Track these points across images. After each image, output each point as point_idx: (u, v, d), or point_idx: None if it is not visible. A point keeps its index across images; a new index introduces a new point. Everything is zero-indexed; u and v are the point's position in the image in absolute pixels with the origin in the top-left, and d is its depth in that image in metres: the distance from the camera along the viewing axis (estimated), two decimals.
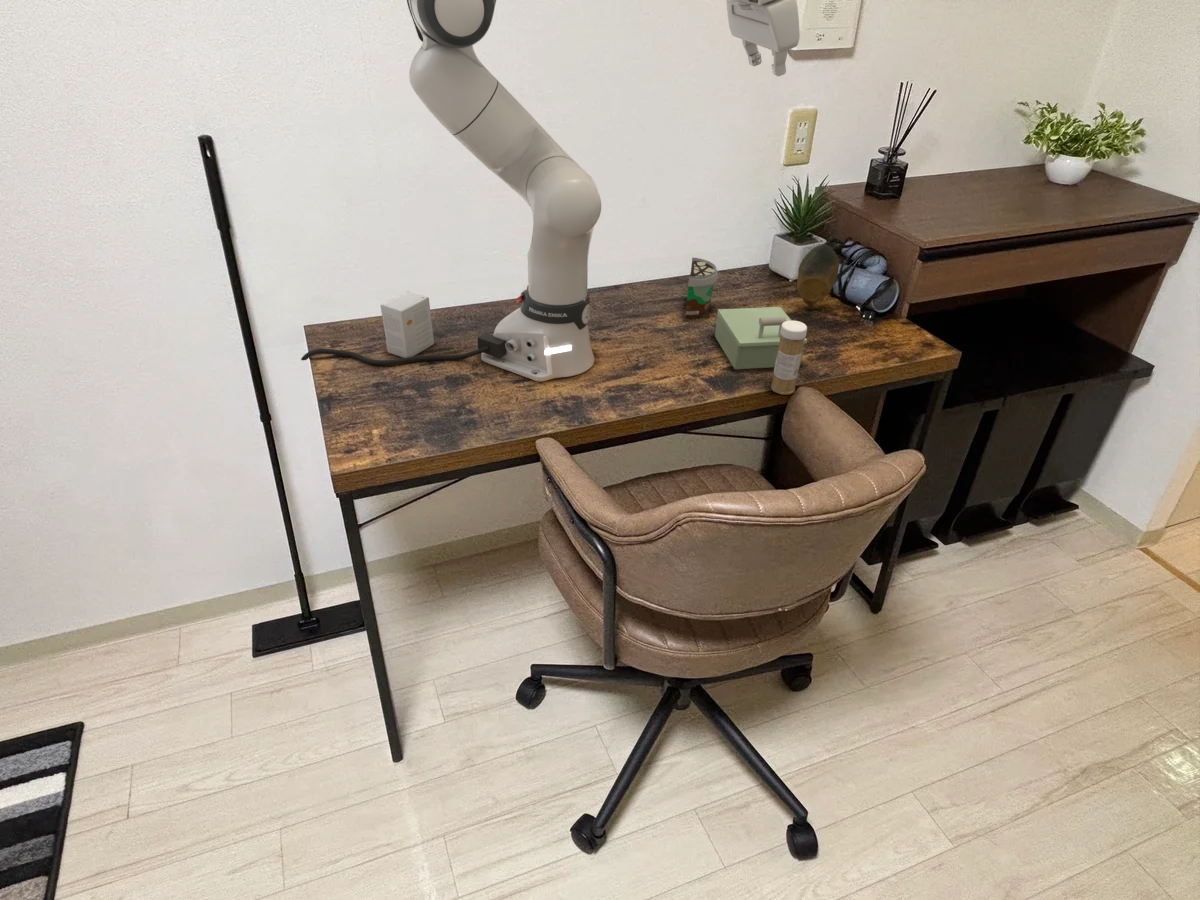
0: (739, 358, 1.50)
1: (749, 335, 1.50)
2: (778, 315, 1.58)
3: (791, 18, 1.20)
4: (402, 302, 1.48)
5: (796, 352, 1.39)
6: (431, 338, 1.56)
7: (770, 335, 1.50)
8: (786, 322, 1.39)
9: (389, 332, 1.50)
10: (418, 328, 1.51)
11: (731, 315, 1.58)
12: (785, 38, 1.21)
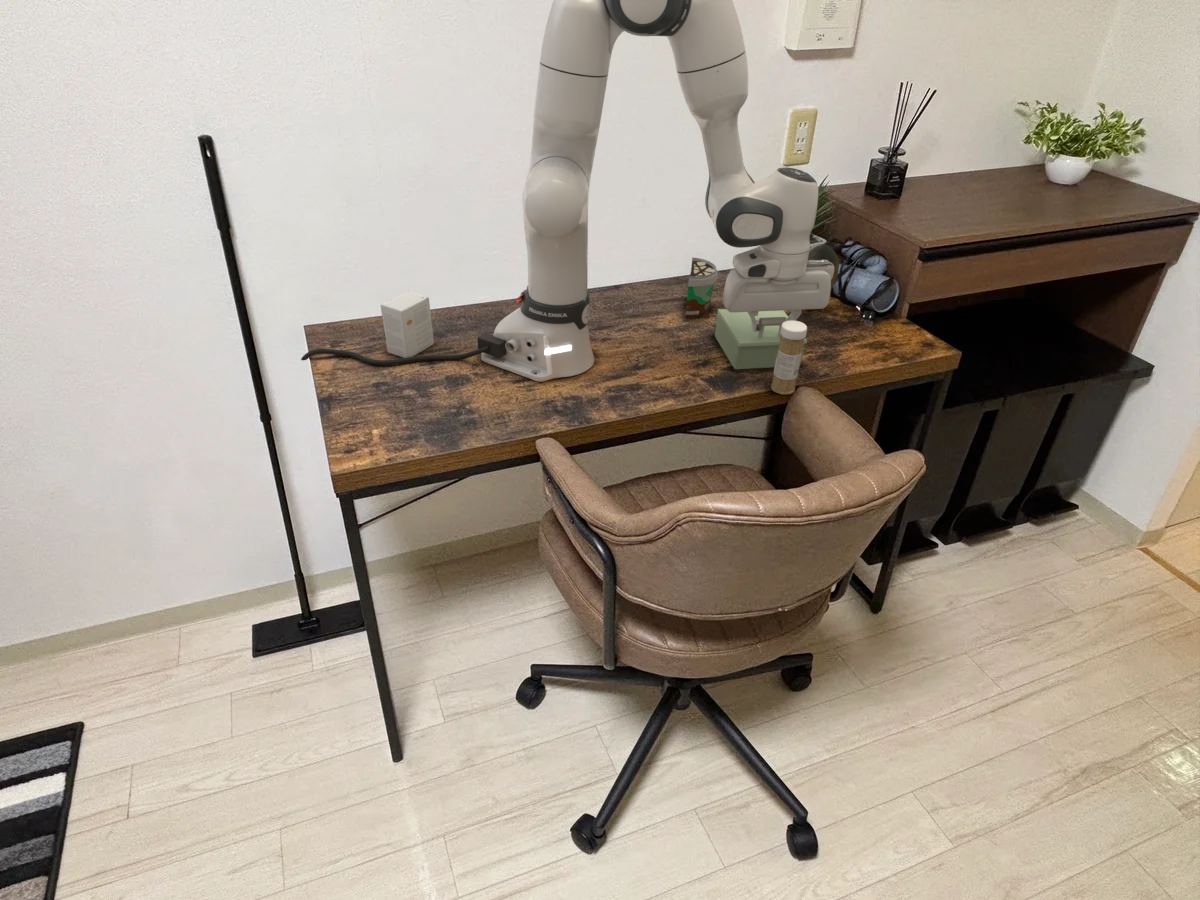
0: (739, 358, 1.50)
1: (749, 335, 1.50)
2: (778, 315, 1.58)
3: (729, 289, 1.42)
4: (402, 302, 1.48)
5: (796, 352, 1.39)
6: (431, 338, 1.56)
7: (770, 335, 1.51)
8: (786, 322, 1.39)
9: (389, 332, 1.50)
10: (418, 328, 1.51)
11: (731, 315, 1.58)
12: (724, 298, 1.45)
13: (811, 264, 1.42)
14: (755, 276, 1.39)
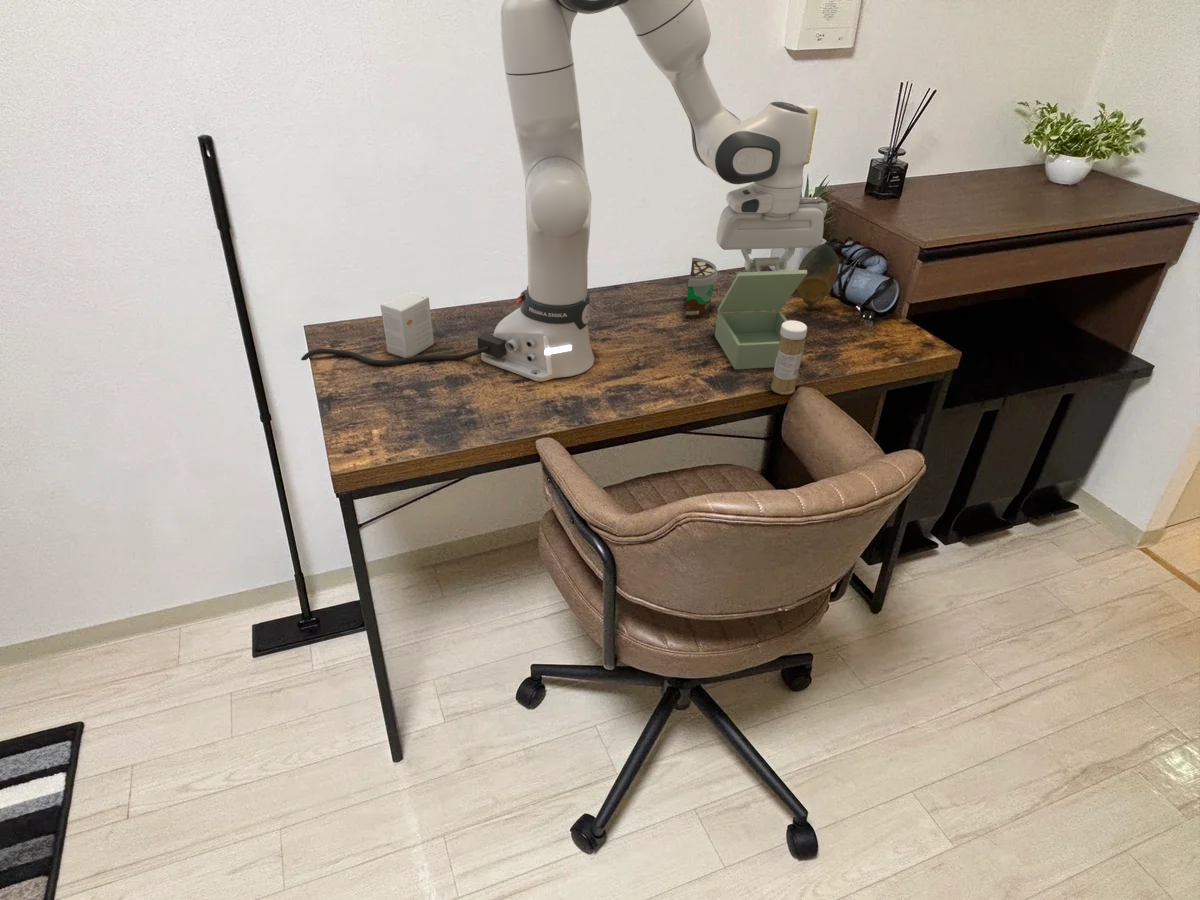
0: (739, 358, 1.50)
1: None
2: None
3: (723, 226, 1.43)
4: (402, 302, 1.48)
5: (796, 352, 1.39)
6: (431, 338, 1.56)
7: None
8: (786, 322, 1.39)
9: (389, 332, 1.50)
10: (418, 328, 1.51)
11: None
12: (718, 235, 1.46)
13: (804, 201, 1.43)
14: (748, 211, 1.40)
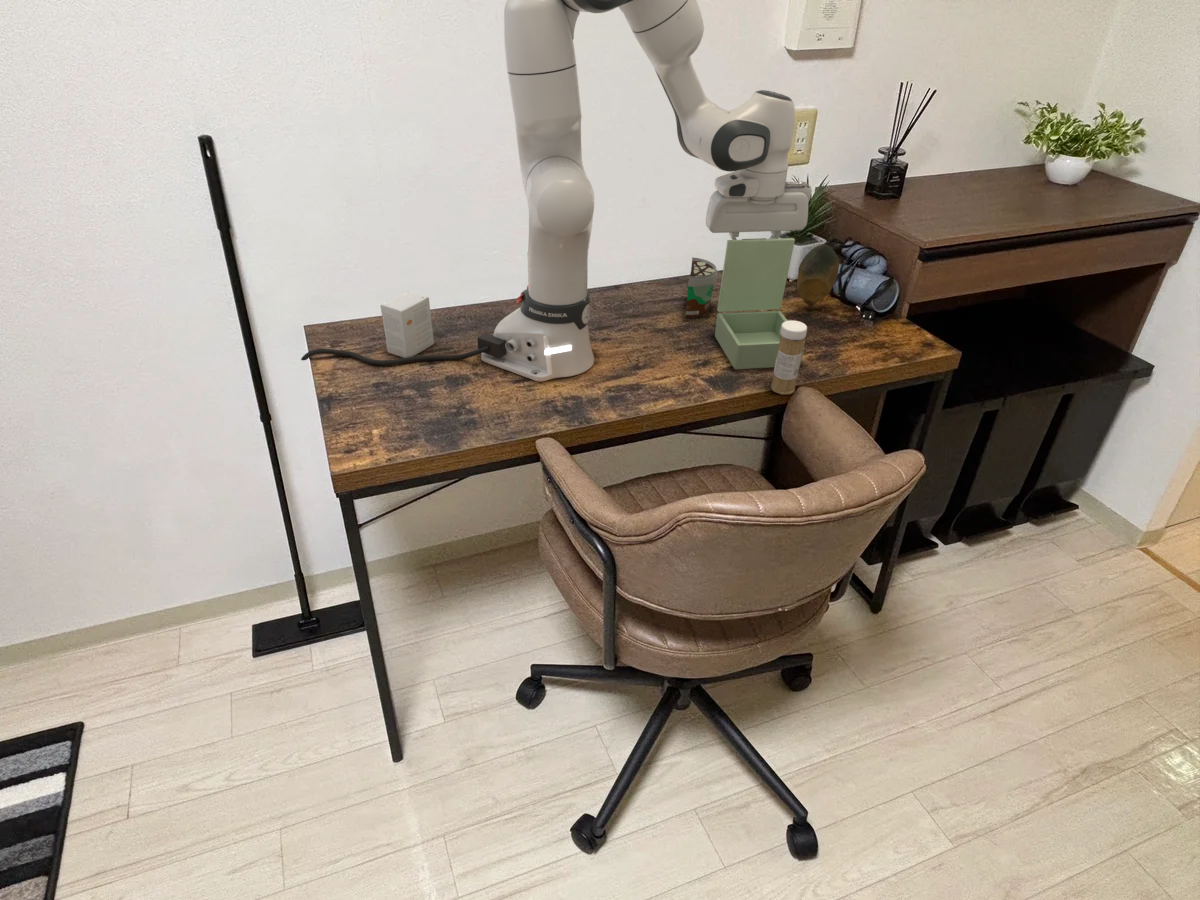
0: (739, 358, 1.50)
1: None
2: None
3: (712, 209, 1.50)
4: (402, 302, 1.48)
5: (796, 352, 1.39)
6: (431, 338, 1.56)
7: None
8: (786, 322, 1.39)
9: (389, 332, 1.50)
10: (418, 328, 1.51)
11: None
12: (707, 219, 1.52)
13: (789, 185, 1.50)
14: (736, 195, 1.46)
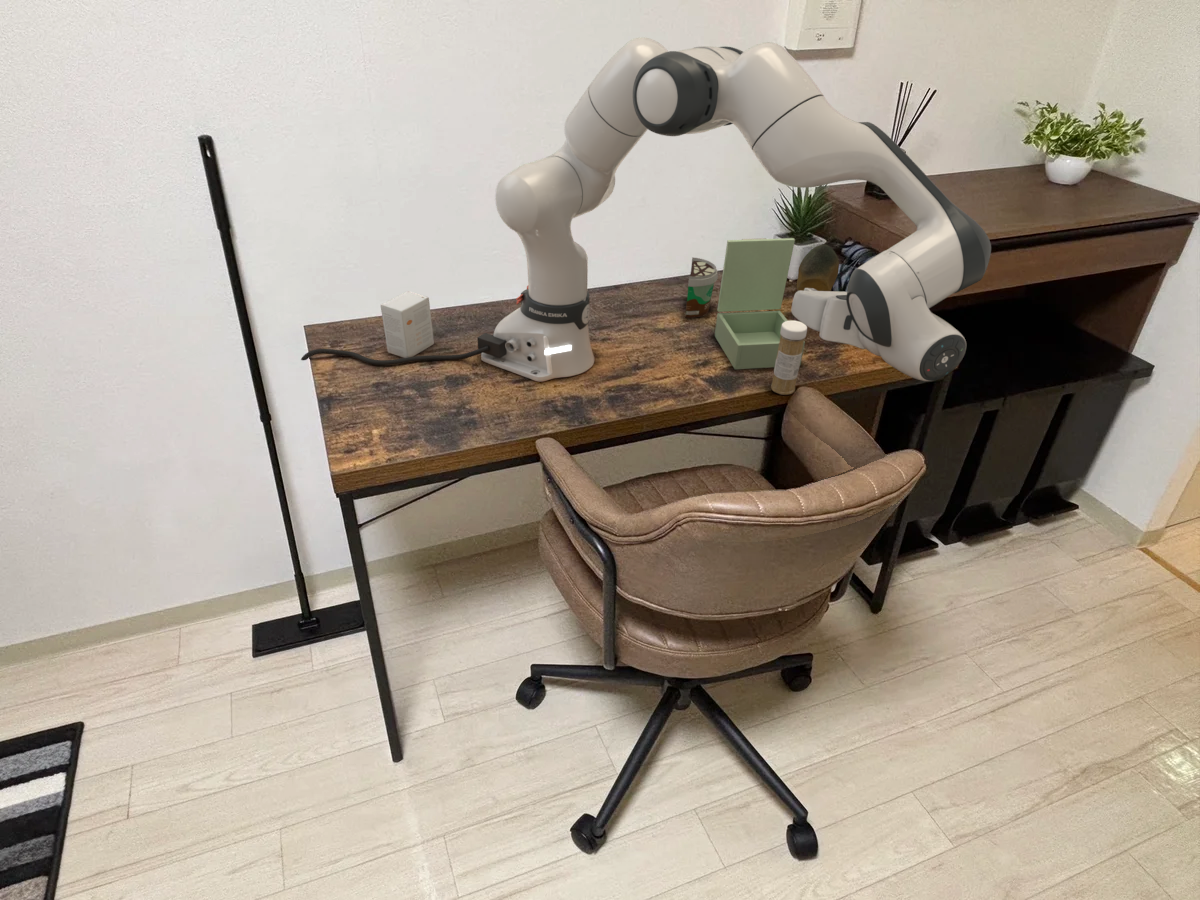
0: (739, 358, 1.50)
1: None
2: None
3: (803, 315, 1.16)
4: (402, 302, 1.48)
5: (796, 352, 1.39)
6: (431, 338, 1.56)
7: None
8: (786, 322, 1.39)
9: (389, 332, 1.50)
10: (418, 328, 1.51)
11: None
12: (797, 300, 1.18)
13: None
14: None
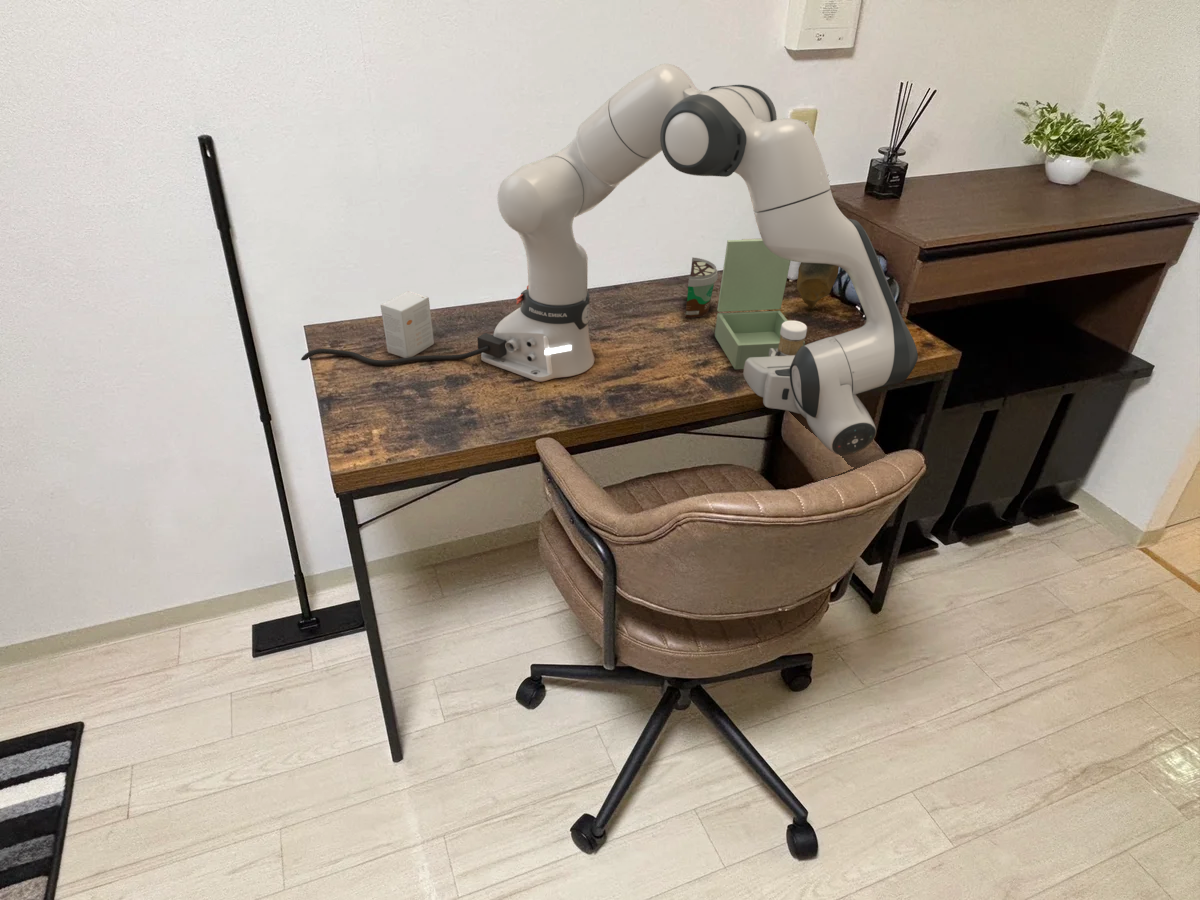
0: (739, 358, 1.50)
1: None
2: None
3: (751, 382, 1.34)
4: (402, 302, 1.48)
5: (796, 352, 1.39)
6: (431, 338, 1.56)
7: None
8: (786, 322, 1.39)
9: (389, 332, 1.50)
10: (418, 328, 1.51)
11: None
12: (746, 368, 1.35)
13: None
14: None
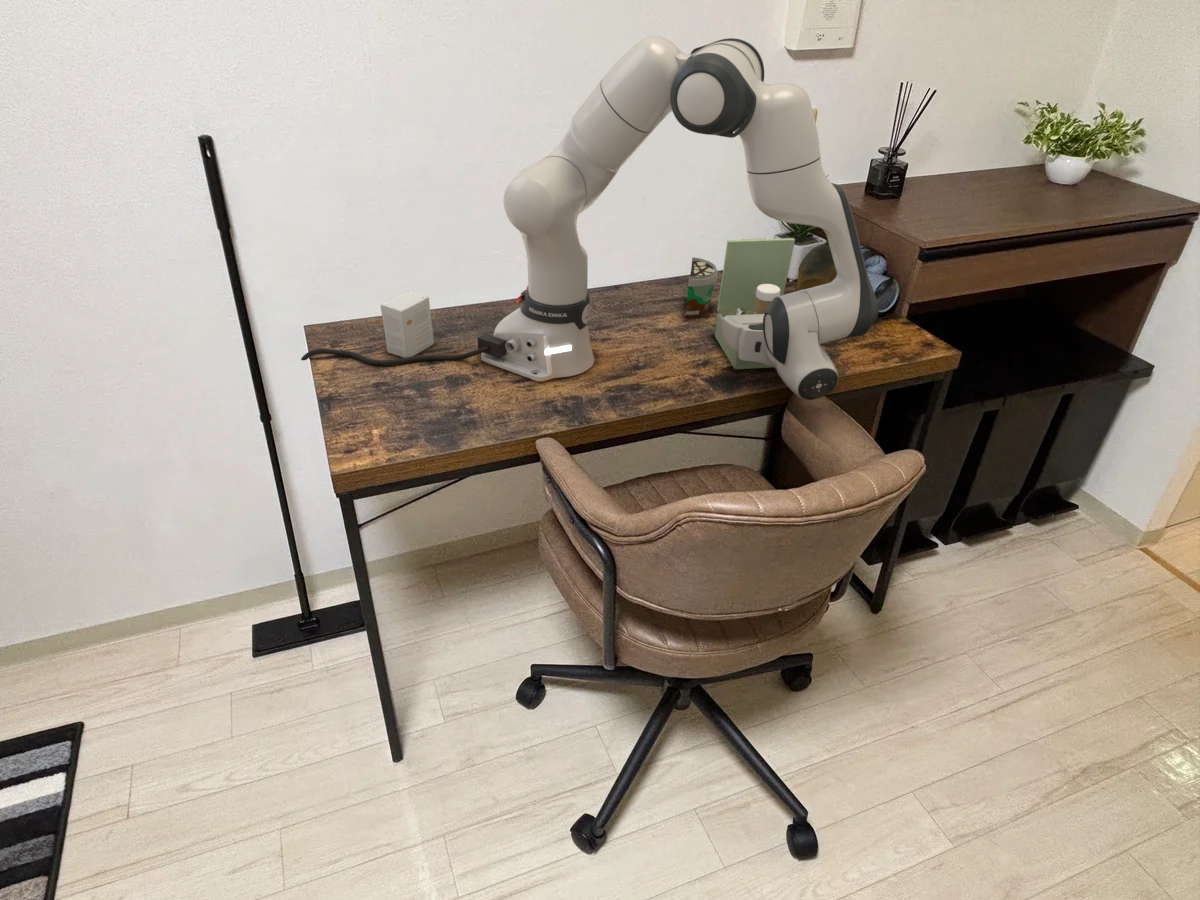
0: None
1: None
2: None
3: (727, 338, 1.45)
4: (402, 302, 1.48)
5: None
6: (431, 338, 1.56)
7: None
8: (761, 285, 1.50)
9: (389, 332, 1.50)
10: (418, 328, 1.51)
11: None
12: (723, 324, 1.46)
13: None
14: None
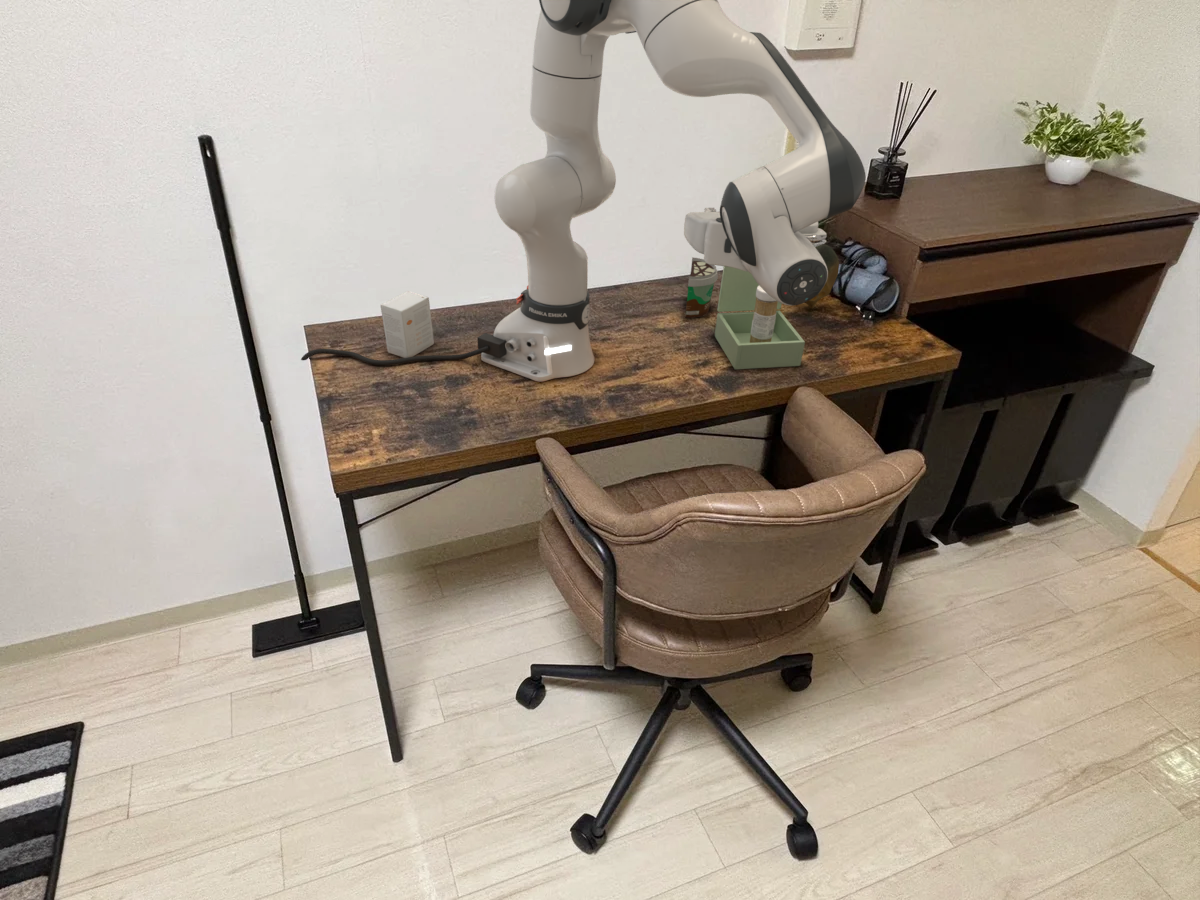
0: (739, 358, 1.50)
1: None
2: None
3: (691, 238, 1.16)
4: (402, 302, 1.48)
5: (770, 313, 1.50)
6: (431, 338, 1.56)
7: None
8: None
9: (389, 332, 1.50)
10: (418, 328, 1.51)
11: None
12: (686, 223, 1.17)
13: None
14: None
